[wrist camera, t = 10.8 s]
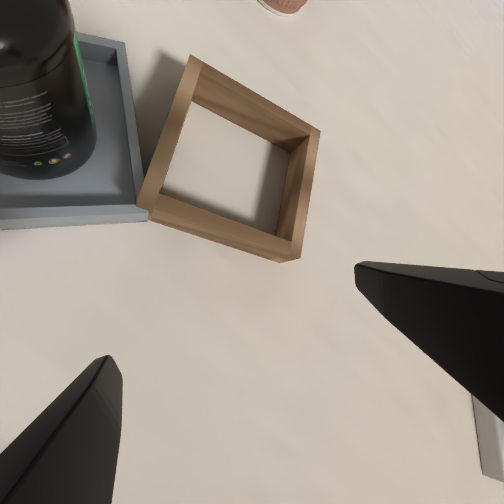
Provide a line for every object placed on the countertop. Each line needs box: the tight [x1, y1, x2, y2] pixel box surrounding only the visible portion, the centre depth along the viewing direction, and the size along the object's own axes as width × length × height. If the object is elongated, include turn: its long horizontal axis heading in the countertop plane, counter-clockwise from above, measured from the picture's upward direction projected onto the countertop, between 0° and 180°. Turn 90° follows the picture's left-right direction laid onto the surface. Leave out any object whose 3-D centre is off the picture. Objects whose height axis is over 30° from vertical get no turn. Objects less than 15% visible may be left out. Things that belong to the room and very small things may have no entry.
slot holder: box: [136, 54, 321, 263], centre depth 20 cm, size 12×12×3 cm
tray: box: [0, 32, 149, 230], centre depth 15 cm, size 12×12×2 cm
